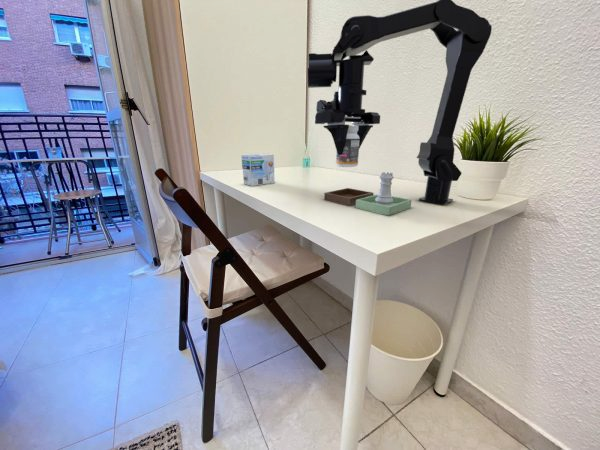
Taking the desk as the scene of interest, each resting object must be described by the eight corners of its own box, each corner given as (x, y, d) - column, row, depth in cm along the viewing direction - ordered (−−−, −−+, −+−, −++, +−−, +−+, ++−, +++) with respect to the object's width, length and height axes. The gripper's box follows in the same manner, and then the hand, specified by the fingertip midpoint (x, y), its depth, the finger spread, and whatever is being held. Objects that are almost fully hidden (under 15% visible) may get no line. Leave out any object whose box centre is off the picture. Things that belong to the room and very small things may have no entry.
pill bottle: (331, 166, 65) (332, 126, 61) (345, 164, 68) (347, 126, 65) (348, 168, 61) (350, 124, 57) (362, 166, 64) (365, 125, 61)
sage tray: (378, 200, 67) (379, 193, 67) (410, 207, 61) (412, 199, 60) (355, 207, 61) (355, 199, 61) (388, 215, 55) (389, 207, 54)
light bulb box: (252, 186, 89) (249, 155, 86) (242, 184, 94) (240, 155, 90) (275, 182, 96) (274, 154, 92) (265, 180, 101) (264, 153, 97)
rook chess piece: (378, 202, 64) (381, 171, 61) (395, 205, 61) (399, 172, 58) (371, 205, 61) (374, 173, 58) (389, 209, 58) (393, 175, 55)
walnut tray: (347, 194, 75) (347, 187, 75) (373, 199, 69) (373, 192, 68) (324, 199, 69) (324, 192, 69) (349, 206, 63) (350, 198, 62)
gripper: (349, 94, 70) (346, 151, 75) (299, 87, 58) (300, 155, 64) (383, 88, 62) (378, 152, 67) (333, 79, 50) (331, 157, 56)
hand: (347, 154), depth 63 cm, fingers closed on pill bottle, 6 cm apart
